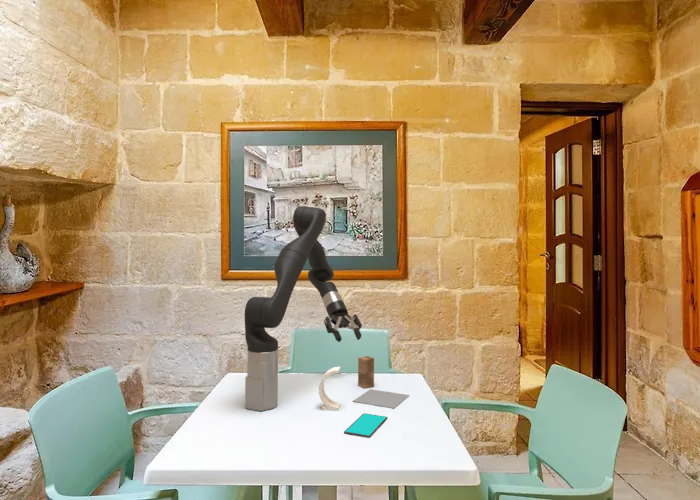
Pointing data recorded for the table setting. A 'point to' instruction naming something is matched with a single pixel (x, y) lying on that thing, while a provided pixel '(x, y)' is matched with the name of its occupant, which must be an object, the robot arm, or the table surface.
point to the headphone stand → (325, 399)
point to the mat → (381, 398)
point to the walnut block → (366, 372)
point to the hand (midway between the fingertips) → (349, 339)
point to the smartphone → (366, 425)
